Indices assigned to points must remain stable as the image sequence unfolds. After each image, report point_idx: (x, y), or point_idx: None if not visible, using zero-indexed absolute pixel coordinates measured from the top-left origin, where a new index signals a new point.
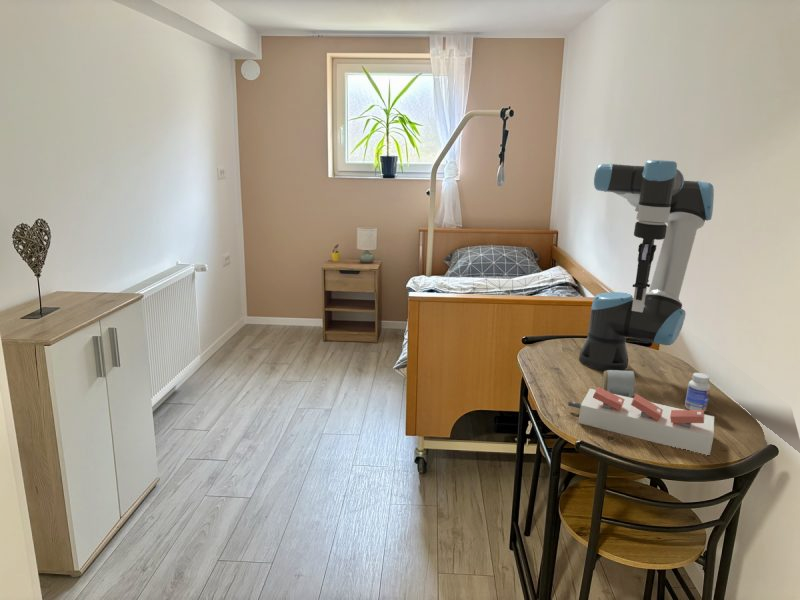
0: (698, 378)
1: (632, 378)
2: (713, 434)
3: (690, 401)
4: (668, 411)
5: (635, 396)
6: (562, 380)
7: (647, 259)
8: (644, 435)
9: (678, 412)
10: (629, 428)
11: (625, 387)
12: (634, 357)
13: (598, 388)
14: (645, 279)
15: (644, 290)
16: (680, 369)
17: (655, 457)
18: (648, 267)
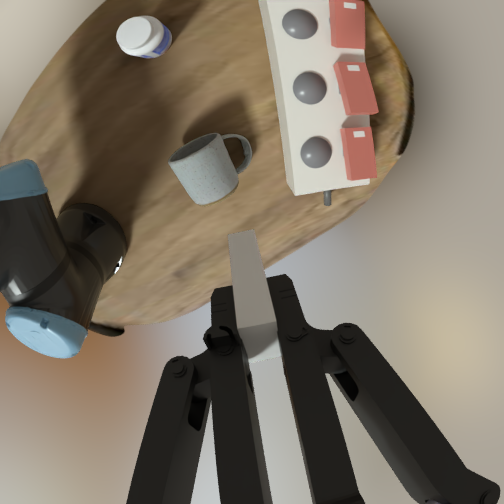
0: (152, 30)
1: (212, 148)
2: None
3: (167, 43)
4: (303, 53)
5: (363, 112)
6: (216, 249)
7: (476, 477)
8: None
9: (347, 36)
10: None
11: (226, 150)
12: None
13: (357, 177)
14: (388, 369)
15: (273, 315)
16: (11, 146)
17: (389, 63)
18: (350, 464)
